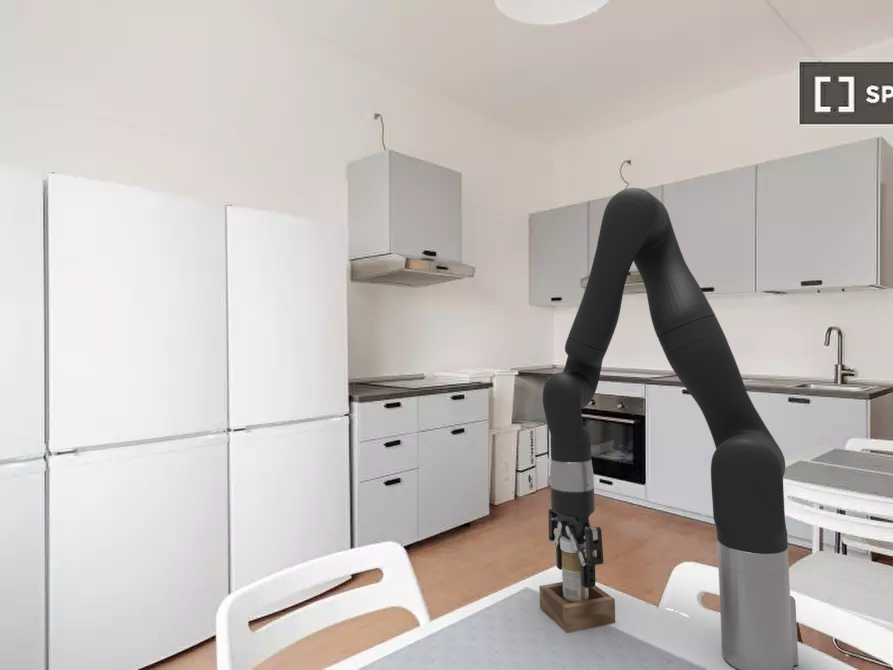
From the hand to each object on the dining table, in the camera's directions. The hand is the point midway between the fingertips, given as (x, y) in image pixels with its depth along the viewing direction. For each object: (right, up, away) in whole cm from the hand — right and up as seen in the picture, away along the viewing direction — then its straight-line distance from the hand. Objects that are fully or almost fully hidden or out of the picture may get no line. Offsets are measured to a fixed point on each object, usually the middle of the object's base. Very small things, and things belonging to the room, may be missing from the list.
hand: (575, 577), depth 98 cm
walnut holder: (0, -7, 0) cm, 7 cm away
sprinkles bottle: (0, -7, 0) cm, 7 cm away
